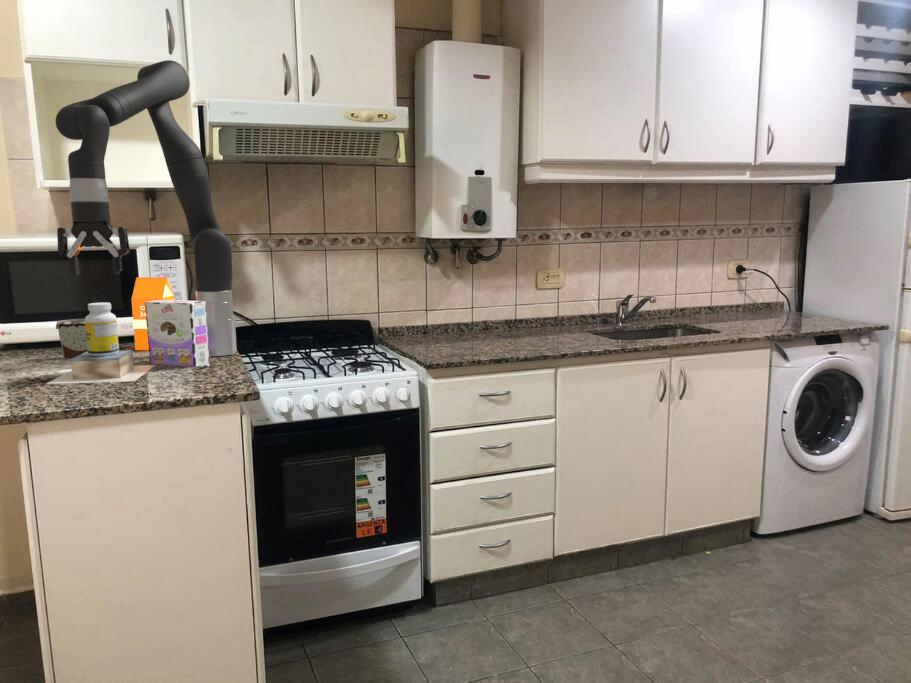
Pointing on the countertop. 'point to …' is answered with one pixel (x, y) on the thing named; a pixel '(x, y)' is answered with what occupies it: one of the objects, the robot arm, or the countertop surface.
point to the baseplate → (130, 376)
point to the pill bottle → (101, 330)
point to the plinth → (102, 365)
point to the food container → (72, 337)
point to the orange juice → (143, 293)
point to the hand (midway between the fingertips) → (96, 274)
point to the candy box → (177, 332)
